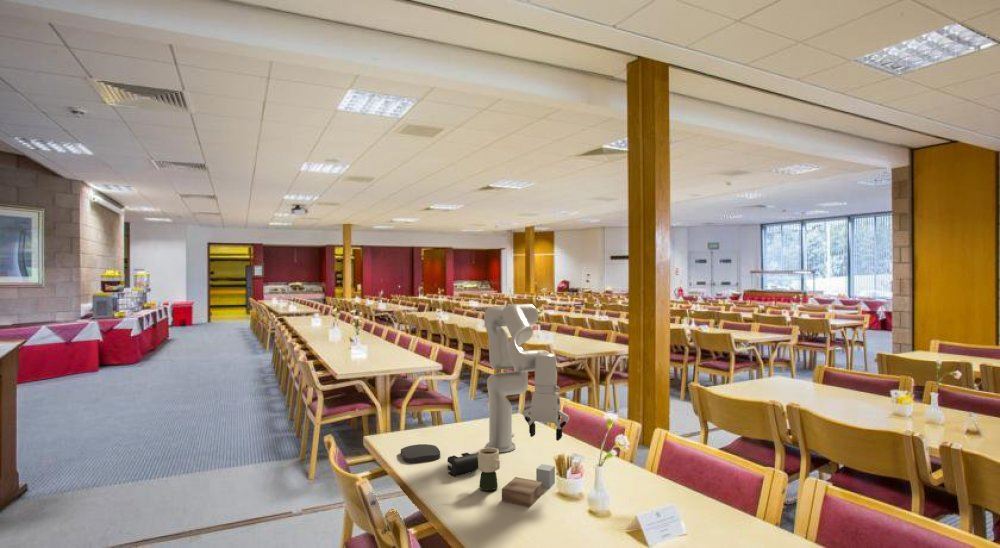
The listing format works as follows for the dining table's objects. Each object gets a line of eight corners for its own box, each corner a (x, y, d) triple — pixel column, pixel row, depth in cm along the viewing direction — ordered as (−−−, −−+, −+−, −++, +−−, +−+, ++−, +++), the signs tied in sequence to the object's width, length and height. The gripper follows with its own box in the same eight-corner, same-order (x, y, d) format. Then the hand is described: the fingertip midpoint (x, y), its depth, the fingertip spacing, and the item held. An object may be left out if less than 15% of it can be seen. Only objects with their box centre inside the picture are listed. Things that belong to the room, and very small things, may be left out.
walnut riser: (515, 488, 181) (515, 476, 181) (542, 493, 177) (542, 482, 177) (501, 501, 171) (501, 488, 171) (530, 507, 167) (530, 494, 167)
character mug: (507, 490, 179) (506, 452, 179) (491, 496, 175) (491, 457, 175) (485, 481, 187) (485, 444, 187) (470, 486, 183) (470, 449, 183)
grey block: (541, 480, 188) (541, 464, 188) (554, 483, 186) (554, 466, 186) (536, 485, 184) (536, 468, 184) (549, 488, 181) (549, 471, 181)
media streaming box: (442, 460, 209) (442, 452, 209) (406, 465, 204) (406, 457, 204) (433, 449, 223) (433, 441, 223) (398, 453, 218) (398, 446, 218)
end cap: (456, 480, 189) (456, 461, 189) (446, 474, 195) (446, 455, 195) (479, 473, 195) (479, 455, 195) (469, 468, 200) (469, 450, 200)
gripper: (572, 389, 184) (572, 438, 184) (526, 384, 192) (526, 431, 192) (565, 393, 178) (565, 444, 178) (518, 388, 185) (518, 437, 185)
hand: (545, 437), depth 185 cm, fingers open, 9 cm apart
